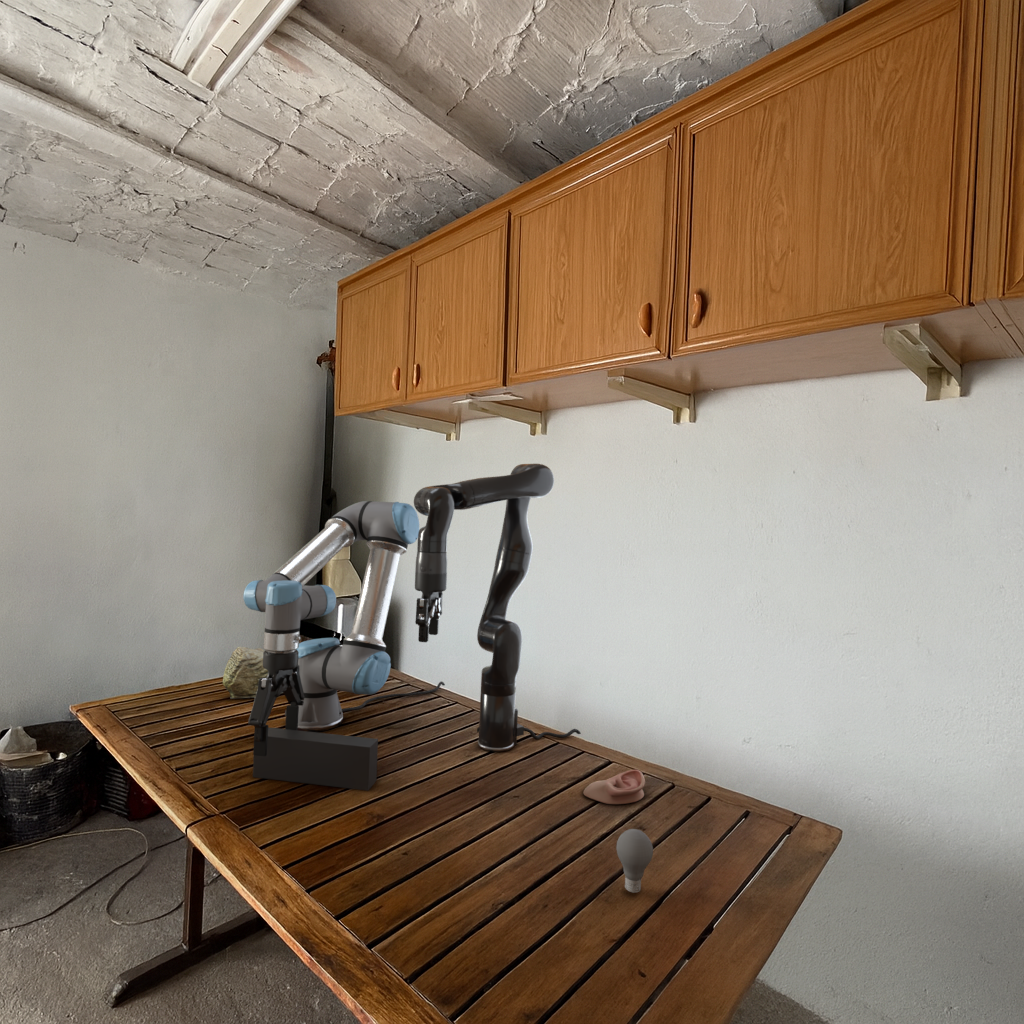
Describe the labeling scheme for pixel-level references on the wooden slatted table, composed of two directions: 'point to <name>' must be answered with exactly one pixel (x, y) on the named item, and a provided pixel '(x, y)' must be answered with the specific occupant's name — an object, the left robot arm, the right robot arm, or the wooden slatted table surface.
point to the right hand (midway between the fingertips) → (428, 638)
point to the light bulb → (634, 857)
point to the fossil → (244, 672)
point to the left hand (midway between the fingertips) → (276, 744)
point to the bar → (318, 759)
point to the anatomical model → (618, 788)
